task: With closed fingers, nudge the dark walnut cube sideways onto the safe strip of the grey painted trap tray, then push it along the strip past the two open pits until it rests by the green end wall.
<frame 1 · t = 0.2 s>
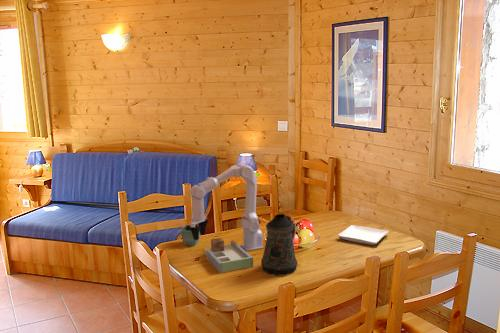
hand: (199, 237, 237), 10 cm above the table, fingers open, 7 cm apart
walnut block: (217, 249, 241), point 2 cm above the table, touching trap tray
trap tray: (226, 259, 235), on the table
salad plate: (363, 239, 261), on the table
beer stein: (279, 267, 225), on the table
flower pot: (191, 244, 256), on the table
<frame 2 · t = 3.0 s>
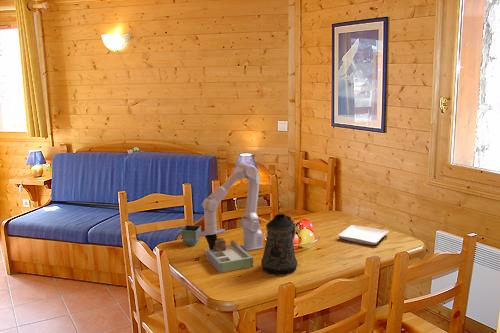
hand: (211, 249, 239), 3 cm above the table, fingers closed
walnut block: (219, 249, 241), point 3 cm above the table, touching gripper
everything else where it was.
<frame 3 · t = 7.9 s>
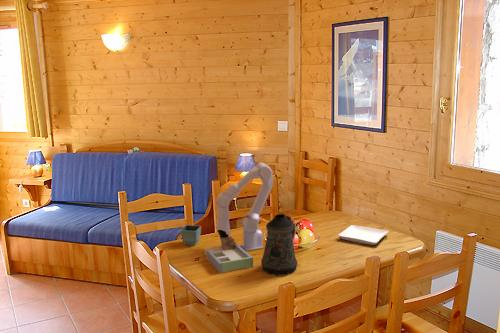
hand: (224, 243, 246), 3 cm above the table, fingers closed
walnut block: (227, 248, 243), point 2 cm above the table, touching gripper, trap tray
everything else where it was.
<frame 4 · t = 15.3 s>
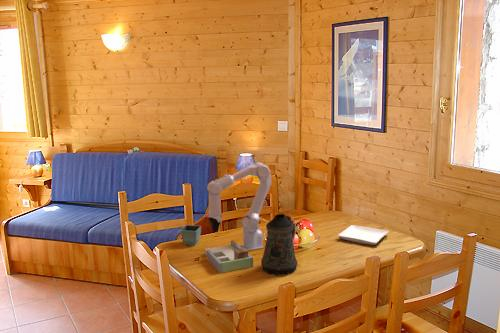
hand: (215, 232, 243), 10 cm above the table, fingers closed
walnut block: (241, 260, 227), point 2 cm above the table, touching trap tray
everything else where it was.
at the end: walnut block inside the target area on the trap tray (0.9 cm from its centre), point 2.5 cm above the trap tray's base; walnut block tilted 0° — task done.
